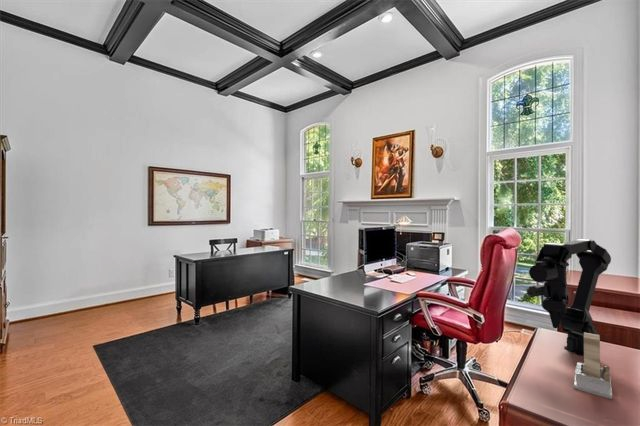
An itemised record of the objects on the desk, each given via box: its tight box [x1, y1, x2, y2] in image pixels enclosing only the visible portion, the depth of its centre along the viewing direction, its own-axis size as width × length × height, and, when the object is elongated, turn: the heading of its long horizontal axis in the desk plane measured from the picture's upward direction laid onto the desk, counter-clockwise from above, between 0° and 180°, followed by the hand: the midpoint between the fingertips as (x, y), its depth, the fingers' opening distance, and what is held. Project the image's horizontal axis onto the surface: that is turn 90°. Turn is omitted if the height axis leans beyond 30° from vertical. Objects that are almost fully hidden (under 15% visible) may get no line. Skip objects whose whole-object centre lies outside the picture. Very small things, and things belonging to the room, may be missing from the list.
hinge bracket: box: [573, 361, 613, 400], centre depth 90 cm, size 14×8×5 cm, turn 138°
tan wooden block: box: [583, 332, 601, 378], centre depth 90 cm, size 4×4×13 cm
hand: (556, 324), depth 105 cm, fingers open, 9 cm apart
